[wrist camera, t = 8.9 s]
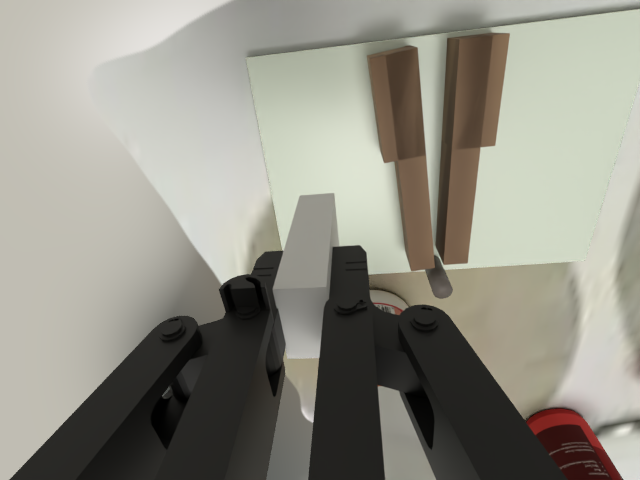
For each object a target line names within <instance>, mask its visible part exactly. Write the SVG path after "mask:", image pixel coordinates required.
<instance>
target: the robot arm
mask: <svg viewBox="0 0 640 480" xmlns="http://www.w3.org/2000/svg"><path fill="white" fill-rule="evenodd" d="M219 291H220V294H221V298H222V301H223V304H224V307H225V311H226V313H225V316H224V318H223V319H220V320H218V321H215V322H211V323H207V324H204V325H200V326H198V324H197V322H196V321H195V319H194V318H192V317H189V316H177V317H173V318H170V319H168V320H166V321H164V322H162V323H160V324H159V325H158V326H157V327H155V328H154V329H153V330H152V331H151V332H150V333H149V334H148V335H147V336H146V338H145V339H144V340H143V341H142V342H141V343H140V344H139V345H138V346H137V347H136V348H135V349H134V350H133V351H132V352H131V353H130V354H129V355H128V356H127V357H126V358H125V359H124V361H123V362H122V363H121V364H120V365H119V366H118V367H117V368H116V369H115V370H114V371H113V372H112V373H111V374H110V375H109V376H108V377H107V378H106V379H105V380H104V382H103V383H102V384H101V385H100V386H99V387H98V388H97V389H96V390H95V391H94V392H93V393H92V394H91V395H90V396H89V397H88V398H87V399H86V400H85V401H84V402H83V403H82V404H81V406H80V407H79V408H78V409H77V410H76V411H75V412H74V413H73V414H72V415H71V416H70V417H69V418H68V419H67V420H66V421H65V422H64V423H63V424H62V425H61V426H60V427H59V429H58V430H57V431H56V432H55V433H54V434H53V435H52V436H51V437H50V438H49V439H48V440H47V441H46V442H45V443H44V444H43V445H42V446H41V448H39V449H38V451H37V452H36V453H35V454H34V455H33V456H32V457H31V458H30V459H29V460H28V461H27V462H26V463H25V464H24V465H23V466H22V467H21V469H19V470H18V472H16V474H15V475H14V476H13V477H12V478H11V479H10V480H266V477H267V471H268V466H269V460H270V455H271V449H272V443H273V437H274V432H275V427H276V421H277V416H278V410H279V404H280V399H281V393H282V388H283V382H284V377H285V366H284V362H283V356H284V351H285V349H286V353H287V358H288V359H298V358H319V367H318V378H317V389H316V400H315V411H314V422H313V434H312V444H311V445H312V446H311V455H310V467H309V478H308V480H385V471H384V458H383V446H382V433H381V421H380V408H379V396H378V385H380V386H383V387H387V388H390V389H394V390H397V391H399V393H400V396H401V399H402V401H403V403H404V406H405V408H406V410H407V413H408V415H409V417H410V420H411V422H412V424H413V427H414V429H415V431H416V434H417V436H418V438H419V441H420V443H421V445H422V448H423V450H424V452H425V455H426V457H427V459H428V462H429V464H430V466H431V469H432V471H433V474H434V476H435V478H436V480H568V479H567V478H566V477H565V475H564V474H563V473H562V471H561V470H560V468H559V467H558V466H557V464H556V463H555V462H554V460H553V459H552V457H551V456H550V455H549V453H548V452H547V451H546V449H545V448H544V446H543V445H542V444H541V442H540V441H539V440H538V438H537V437H536V435H535V434H534V433H533V431H532V430H531V429H530V427H529V426H528V424H527V423H526V422H525V420H524V419H523V418H522V416H521V415H520V413H519V412H518V411H517V409H516V408H515V407H514V405H513V404H512V402H511V401H510V400H509V398H508V397H507V396H506V394H505V393H504V391H503V390H502V389H501V387H500V386H499V385H498V383H497V382H496V380H495V379H494V378H493V376H492V375H491V374H490V372H489V371H488V369H487V368H486V367H485V365H484V364H483V362H482V361H481V360H480V358H479V357H478V356H477V354H476V353H475V351H474V350H473V349H472V347H471V346H470V345H469V343H468V342H467V340H466V339H465V338H464V336H463V335H462V334H461V332H460V331H459V329H458V328H457V327H456V325H455V324H454V323H453V321H452V320H451V318H450V317H449V316H448V315H447V314H446V313H445V312H444V311H443V310H440V309H438V308H436V307H434V306H429V305H414V306H411V307H408V308H406V309H405V310H404V311H402V312H401V313H400V315H397V314H392V313H388V312H385V311H383V310H381V309H379V308H378V307H376V306H375V305H374V304H373V302H372V301H371V298H370V290H369V277H368V265H367V253H366V251H365V250H364V249H363V248H362V247H361V246H360V245H354V246H339V237H338V226H337V216H336V206H335V196H334V193H326V194H313V195H300V196H299V200H298V203H297V207H296V210H295V214H294V217H293V220H292V224H291V227H290V231H289V234H288V238H287V241H286V245H285V248H284V251H271V252H265V253H264V254H262V255H261V256H260V257H259V258H258V259H257V261H256V263H255V266H254V270H253V271H252V273H251V275H249V274H247V275H241V276H237V277H234V278H232V279H230V280H228V281H227V282H225V283H224V284H223V285H222V286H221V288H220V289H219ZM168 387H170V390H169V391H168V392H167V393H166V394H165V395H164V396H163V397H162V395H163V393H164V392H165V391H166V390H167V388H168Z"/></svg>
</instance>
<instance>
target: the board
mask: <svg viewBox="0 0 640 480" xmlns="http://www.w3.org/2000/svg"><path fill="white" fill-rule="evenodd" d="M485 33H510V37H509V45H508V53H507V60H506V68H505V75H504V83H503V90H502V98H501V106H500V113H499V121H498V128H497V136H496V144H495V146H490V147H481V148H480V157H479V166H478V175H477V184H476V193H475V202H474V211H473V220H472V229H471V238H470V247H469V256H468V263H466V264H450V265H443V263H442V260H441V258H440V256H439V253H438V251H437V249H436V229H437V211H438V194H439V176H440V158H441V141H442V123H443V105H444V88H445V70H446V53H447V38H452V37H460V36H468V35H476V34H485ZM409 45H410V46H414V47H418V58H419V71H420V84H421V97H422V109H423V122H424V135H425V147H426V160H427V173H428V186H429V198H430V211H431V224H432V237H433V249H434V255H436V256H438V257H439V259H440V261H441V263H442V266H443V268H444V270H449V269H465V268H480V267H496V266H512V265H527V264H543V263H559V262H575V261H585V259H586V256H587V253H588V250H589V246H590V243H591V240H592V236H593V233H594V230H595V227H596V223H597V220H598V217H599V214H600V210H601V207H602V204H603V200H604V197H605V194H606V191H607V187H608V184H609V181H610V178H611V174H612V171H613V168H614V164H615V161H616V158H617V155H618V151H619V148H620V145H621V142H622V138H623V135H624V132H625V128H626V125H627V122H628V119H629V115H630V112H631V109H632V106H633V102H634V99H635V96H636V92H637V89H638V86H639V83H640V9H633V10H625V11H617V12H609V13H601V14H593V15H585V16H576V17H568V18H560V19H552V20H544V21H536V22H528V23H520V24H512V25H504V26H496V27H488V28H479V29H471V30H463V31H455V32H447V33H439V34H431V35H423V36H415V37H407V38H399V39H391V40H382V41H374V42H366V43H358V44H350V45H342V46H334V47H326V48H318V49H310V50H302V51H294V52H286V53H277V54H269V55H261V56H253V57H247V58H246V63H247V69H248V74H249V79H250V84H251V89H252V95H253V100H254V105H255V110H256V115H257V121H258V126H259V131H260V136H261V141H262V147H263V152H264V157H265V162H266V168H267V173H268V178H269V183H270V188H271V194H272V199H273V204H274V209H275V214H276V220H277V225H278V230H279V235H280V240H281V246H282V251H284V248H285V245H286V241H287V238H288V234H289V231H290V227H291V224H292V220H293V217H294V214H295V210H296V207H297V203H298V200H299V196H300V195H313V194H326V193H334V196H335V206H336V216H337V226H338V237H339V246H354V245H360V246H361V247H362V248H363V249H364V250H365V251H366V253H367V265H368V275H371V274H386V273H402V272H411V269H410V266H409V262H408V259H407V256H406V252H405V244H404V236H403V227H402V219H401V211H400V203H399V195H398V187H397V179H396V171H395V163H394V162H389V163H384V161H383V158H382V155H381V152H380V146H379V139H378V132H377V125H376V118H375V111H374V104H373V97H372V90H371V83H370V76H369V69H368V62H367V55H371V54H376V53H380V52H384V51H388V50H392V49H396V48H400V47H404V46H409ZM418 271H425V270H418ZM418 271H412V272H418Z"/></svg>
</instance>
